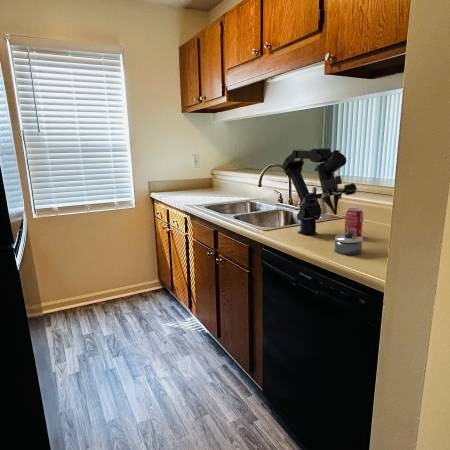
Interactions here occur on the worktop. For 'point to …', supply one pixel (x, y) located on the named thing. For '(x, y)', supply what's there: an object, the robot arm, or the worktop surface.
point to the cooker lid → (348, 238)
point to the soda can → (354, 221)
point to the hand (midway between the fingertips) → (335, 214)
